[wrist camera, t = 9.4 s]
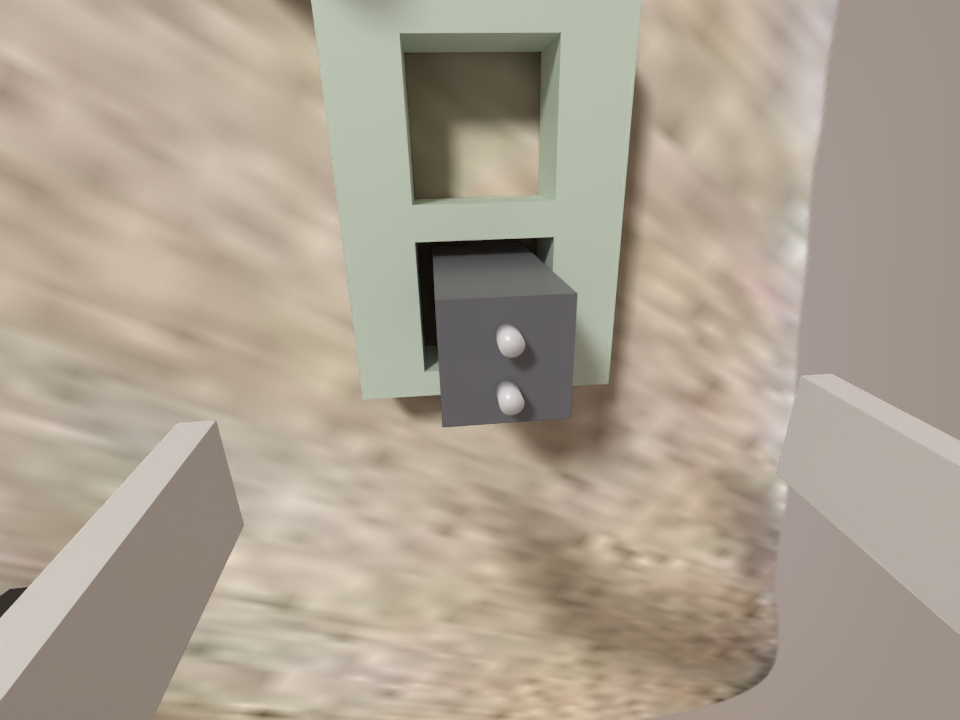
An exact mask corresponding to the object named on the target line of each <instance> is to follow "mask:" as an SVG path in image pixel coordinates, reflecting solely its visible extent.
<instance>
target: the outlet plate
mask: <svg viewBox="0 0 960 720" xmlns="http://www.w3.org/2000/svg"><path fill="white" fill-rule="evenodd" d="M311 5H312V12H313V20H314V28H315V35H316V43H317V51H318V58H319V66H320V74H321V81H322V89H323V97H324V105H325V112H326V120H327V128H328V135H329V143H330V151H331V158H332V166H333V174H334V181H335V189H336V197H337V205H338V212H339V220H340V228H341V235H342V243H343V251H344V258H345V266H346V274H347V282H348V289H349V297H350V305H351V312H352V320H353V328H354V335H355V343H356V351H357V358H358V366H359V374H360V382H361V389H362V397H363V400H367V399H383V398H398V397H414V396H429V395H441V394H440V377H439V361H438V345H430V346H425V340H424V326H423V312H422V298H421V284H420V270H419V256H418V242H440V241H465V240H491V239H517V238H537V258H539V259H540V260H541V261H542V262H543V263H544V264H545V265H546V266H548V267H549V268H550V269H551V270H552V271H553V272H554V273H555V274H557V275H558V276H559V277H560V278H561V279H562V280H563V281H564V282H565V283H567V284H568V285H569V286H570V287H571V288H572V289H573V290H574V291H576V292H577V293H578V295H577V314H576V332H575V350H574V368H573V386H584V385H599V384H608V383H609V371H610V360H611V348H612V336H613V325H614V313H615V302H616V290H617V278H618V267H619V255H620V244H621V232H622V220H623V209H624V197H625V186H626V174H627V163H628V151H629V139H630V128H631V116H632V105H633V93H634V81H635V70H636V58H637V47H638V35H639V23H640V12H641V0H311ZM443 52H541V83H540V129H539V176H538V195H529V196H497V197H466V198H435V199H414V186H413V172H412V158H411V144H410V130H409V116H408V102H407V88H406V74H405V60H404V53H443Z"/></svg>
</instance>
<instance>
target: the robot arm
mask: <svg viewBox="0 0 960 720" xmlns="http://www.w3.org/2000/svg"><path fill="white" fill-rule="evenodd" d="M776 474H777V475H778V476H779V477H781V478H782V479H783V480H784V481H785V482H786V483H787V484H789V485H790V486H791V487H792V488H793V489H794V490H795V491H797V492H798V493H799V494H800V495H801V496H802V497H803V498H805V499H806V500H807V501H808V502H809V503H810V504H811V505H812V506H814V507H815V508H816V509H817V510H818V511H819V512H820V513H822V514H823V515H824V516H825V517H826V518H827V519H828V520H829V521H831V522H832V523H833V524H834V525H835V526H836V527H838V528H839V529H840V530H841V531H842V532H843V533H844V534H845V535H847V536H848V537H849V538H850V539H851V540H852V541H853V542H854V543H856V544H857V545H858V546H859V547H860V548H861V549H862V550H864V551H865V552H866V553H867V554H868V555H869V556H870V557H872V558H873V559H874V560H875V561H876V562H877V563H879V564H880V565H881V566H882V567H883V568H884V569H885V570H887V571H888V572H889V573H890V574H891V575H892V576H893V577H894V578H895V579H897V580H898V581H899V582H900V583H901V584H902V585H903V586H905V587H906V588H907V589H908V590H909V591H910V592H911V593H913V594H914V595H915V596H916V597H917V598H918V599H919V600H920V601H922V602H923V603H924V604H925V605H926V606H927V607H928V608H930V609H931V610H932V611H933V612H934V613H935V614H936V615H938V616H939V617H940V618H941V619H942V620H943V621H944V622H946V623H947V624H948V625H949V626H950V627H951V628H952V629H954V630H955V631H956V632H957V633H958V634H959V635H960V441H959V440H957V439H955V438H953V437H951V436H949V435H948V434H946V433H944V432H942V431H940V430H938V429H936V428H934V427H932V426H930V425H928V424H927V423H925V422H923V421H921V420H919V419H917V418H915V417H913V416H911V415H909V414H907V413H905V412H904V411H902V410H900V409H898V408H896V407H894V406H892V405H890V404H888V403H886V402H884V401H882V400H880V399H878V398H876V397H875V396H873V395H871V394H869V393H867V392H865V391H863V390H861V389H859V388H857V387H856V386H854V385H852V384H849V383H848V382H846V381H844V380H842V379H840V378H838V377H836V376H834V375H832V374H821V375H808V376H801V378H800V382H799V386H798V390H797V394H796V398H795V401H794V405H793V409H792V413H791V417H790V421H789V425H788V429H787V433H786V437H785V441H784V444H783V448H782V452H781V456H780V460H779V464H778V468H777V472H776ZM243 526H244V523H243V519H242V516H241V512H240V508H239V504H238V501H237V497H236V493H235V489H234V486H233V482H232V478H231V474H230V471H229V467H228V463H227V459H226V456H225V452H224V448H223V444H222V441H221V437H220V433H219V429H218V426H217V422H216V420H212V421H199V422H186V423H177V424H176V425H175V426H174V427H173V428H172V429H171V430H170V432H169V433H168V434H167V435H166V436H165V437H164V438H163V439H162V440H161V441H160V443H159V444H158V445H157V446H156V447H155V448H154V449H153V450H152V451H151V453H150V454H149V455H148V456H147V457H146V458H145V459H144V460H143V461H142V462H141V464H140V465H139V466H138V467H137V468H136V469H135V470H134V471H133V472H132V473H131V475H130V476H129V477H128V478H127V479H126V480H125V481H124V482H123V483H122V484H121V486H120V487H119V488H118V489H117V490H116V491H115V492H114V493H113V494H112V495H111V497H110V498H109V499H108V500H107V501H106V502H105V503H104V504H103V505H102V506H101V508H100V509H99V510H98V511H97V512H96V513H95V514H94V515H93V516H92V518H91V519H90V520H89V521H88V522H87V523H86V524H85V525H84V526H83V527H82V529H81V530H80V531H79V532H78V533H77V534H76V535H75V536H74V537H73V538H72V540H71V541H70V542H69V543H68V544H67V545H66V546H65V547H64V548H63V549H62V551H61V552H60V553H59V554H58V555H57V556H56V557H55V558H54V559H53V560H52V562H51V563H50V564H49V565H48V566H47V567H46V568H45V569H44V570H43V572H42V573H41V574H40V575H39V576H38V577H37V578H36V579H35V580H34V581H33V583H32V584H31V585H30V586H29V587H26V588H16V589H10V590H8V591H7V592H5V593H4V594H3V595H1V596H0V720H152V719H153V716H154V714H155V712H156V710H157V708H158V706H159V704H160V702H161V700H162V697H163V695H164V693H165V691H166V689H167V687H168V685H169V683H170V681H171V678H172V676H173V674H174V672H175V670H176V668H177V666H178V664H179V661H180V659H181V657H182V655H183V653H184V651H185V649H186V647H187V645H188V642H189V640H190V638H191V636H192V634H193V632H194V630H195V628H196V626H197V623H198V621H199V619H200V617H201V615H202V613H203V611H204V609H205V607H206V604H207V602H208V600H209V598H210V596H211V594H212V592H213V590H214V588H215V585H216V583H217V581H218V579H219V577H220V575H221V573H222V571H223V568H224V566H225V564H226V562H227V560H228V558H229V556H230V554H231V552H232V549H233V547H234V545H235V543H236V541H237V539H238V537H239V535H240V533H241V530H242V528H243Z"/></svg>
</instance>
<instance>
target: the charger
mask: <svg viewBox="0 0 960 720" xmlns="http://www.w3.org/2000/svg"><path fill="white" fill-rule="evenodd" d="M432 249H433V271H434V294H435V312H436V328H437V345H438V361H439V377H440V394H441V410H442V427H454V426H469V425H483V424H497V423H511V422H526V421H540V420H554V419H568V418H571V405H572V386H573V368H574V350H575V332H576V314H577V295H578V293H577V292H576V291H574V290H573V289H572V288H571V287H570V286H569V285H568V284H567V283H565V282H564V281H563V280H562V279H561V278H560V277H559V276H558V275H557V274H555V273H554V272H553V271H552V270H551V269H550V268H549V267H548V266H546V265H545V264H544V263H543V262H542V261H541V260H540V259H539V258H537V257H536V256H535V255H534V254H533V253H532V252H531V251H530V250H529V249H527V248H526V247H525V246H524V245H523V244H522V243H519V244H494V245H469V246H443V247H432Z"/></svg>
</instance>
